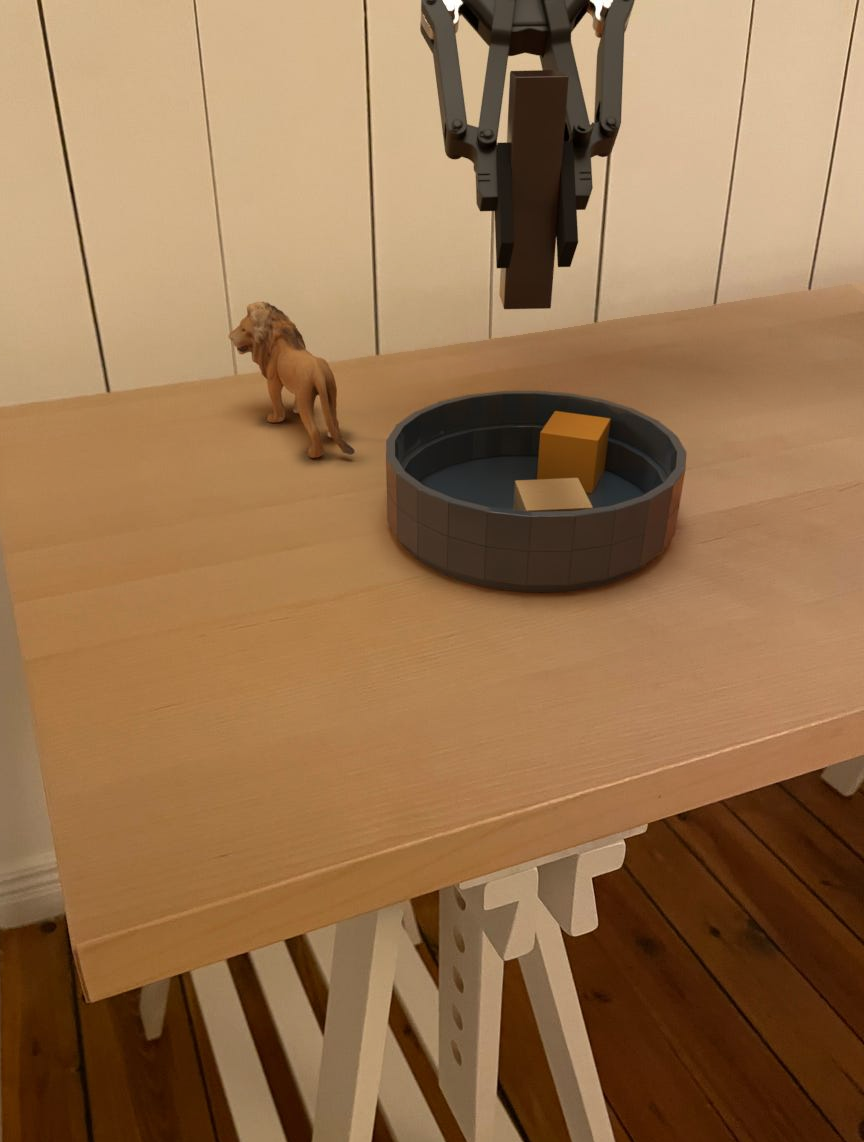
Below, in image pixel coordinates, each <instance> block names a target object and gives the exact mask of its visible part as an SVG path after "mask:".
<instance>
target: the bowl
mask: <svg viewBox="0 0 864 1142" xmlns="http://www.w3.org/2000/svg"><path fill="white" fill-rule="evenodd" d="M555 411H560V412H567V413H574V414H582V415H589V416H597V417H604V418H610V419H611V420H610V429H609V437H608V446H607V454H606V463H605V470H604V472H603V474H602V476H601V478H600V480H599V482H598V484H597V485H596V487H595V489H594V491H593V493H592V494H591V493H586V495H587V497H588V499H589V501H590V503H591V505H592V507H593V509H586V510H579V511H555V512H528V511H518V510H513V506H514V490H515V481H517V480H537V471H538V458H539V444H540V432H541V431H542V429H543V428H544V426H545V425H546V424H547V422H548V421H549V419H550V418H551V416H552V415H553V413H554V412H555ZM686 467H687V450H686V449H685V447H684V445H683V443H682V442H681V440H680V438H679V437H678V434H676V433H674V432H673V431H672V430H671V429H669V427H667V426H666V425H664V423H662V421H659V420H658V419H656V418H654V417H651V416H649V415H648V414H646V413H644V412H641V411H639V410H638V409H636V408H632V407H629V406H626V405H622V404H619V403H616V402H613V401H610V400H608V399H607V400H606V399H604V398H597V397H593V396H587V395H582V394H577V393H570V392H560V391H548V390H537V389H536V390H535V389H534V390H532V389H531V390H530V389H529V390H498V391H489V392H481V393H472V394H465V395H462V396H457V397H454V398H449V399H444V400H441V401H438V402H435V403H432V404H430V405H428V406H425V407H423V408H420V409H418V410H416V411H414V412H412V413H410V414H409V415H408V416H406V417H405V418H404V419H402V420H401V421H400V422H397V424H396V425H395V426H394V428H393V429H392V431H391V432H390V434H389V435H388V436H387V438H386V440H385V474H386V475H385V477H386V478H385V479H386V482H385V483H386V484H385V485H386V521H387V523H388V525H389V526H390V528H391V529H392V531H393V533H394V535H395V537H396V539H397V540H398V541H399V542H400V543H401V544H402V545H403V547H404V549H406V550H407V551H408V552H409V553H410V554H411V556H413V557H414V558H415V559H417V560H418V561H420V562H421V563H423V564H424V565H425V566H428V567H429V568H431V569H432V570H434V571H436V572H438V573H441V574H443V575H446V576H448V577H450V578H454V579H456V580H459V581H461V582H465V583H468V584H472V585H476V586H480V587H485V588H488V589H489V588H490V589H496V590H501V591H508V592H509V591H510V592H521V593H564V592H571V591H572V592H574V591H580V590H587V589H592V588H597V587H602V586H604V585H607V584H608V585H609V584H611V583H615V582H618V581H620V580H622V579H625V578H628V577H630V576H632V575H634V574H635V573H637V572H639V571H640V570H643V569H644V568H645V567H646V566H648V565H649V564H651V562H653V561H654V560H655V558H656V557H658V556H659V555H661V554H663V552H664V551H665V549H666V548H667V546H668V545H669V544H670V542H671V540H672V539H673V537H674V536H675V534H676V527H677V522H678V516H679V510H680V504H681V498H682V492H683V487H684V486H683V485H684V482H685V481H684V480H685V474H686Z"/></svg>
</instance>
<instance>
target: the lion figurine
mask: <svg viewBox="0 0 864 1142" xmlns="http://www.w3.org/2000/svg"><path fill="white" fill-rule="evenodd" d="M239 322H240V324H239V325H238V326H237V327H236V328H234V329H233V330H232V331H230V332H229V334H228V339H229V340H230V341H231V343H232V345H233V346H234V347H235V348H236V350H237V353H238V354H239V355H245V354H247V353H250V354H251V360H252V362H253V363H255V364H257V365H258V367H259V370H260V373H261V376H262V377H264V378H265V379H266V384H267V391H268V396H269V398H270V401H271V404H272V409H273V411H272V412H270V413H268V415H267V420H266V421H267V422H269V423H272V424H273V423H280V422H281V423H282V422H283V421H284V420H285V417H286V409H285V406H284V403H283V398H282V396H283V395H282V391H283V388H285V389H286V390H287V391H288V392H289V393H290V394H293V395H294V402H293V406H292V407H293V408H292V412H293V413H294V414H298V415H299V417H300V419H301V421H302V424H303V425H304V428H305V429H306V431H307V433H308V436H309V438H310V441H311V446H310V447H308V450H307V455H308V457H310V458H319V457H321V456H323V455H324V445H323V442H322V435H321V431H320V429H319V427H318V426H317V424H316V421H315V413H314V411H315V410H314V408H315V403H316V398H317V397H318V396H319V400H320V406H321V411H322V414H323V417H324V421H325V425H326V427H327V433H326V434H327V436H328V437H329V438H331V439H333V441H334V442H335V443H336V445H337V446H338V448H339V449H340V450H341V452H342V453H343V454H347V455H354V454H355V452H356V451H355V449H354V448H353V447H352V446H351V445H350V444H349V443H347V442H346V441H345V440H344V439H342V435H343V434H342V430H341V428H340V425H339V424H340V423H339V420H338V412H337V406H338V404H337V397H338V395H337V394H338V388H337V382H336V379H335V376H334V373H333V371H332V369H331V368H330V365H329V363H328V361H326V359H325V358H323V357H318V356H315V355H313V354H312V353H311V352H309V351H308V350H307V347H306V344H305V340H304V337H303V335H302V334H301V332H300V331H299V329H298V328H297V326H296V324H295V322H293V321H292V320H291V319H290V317H289V316H288V315H287V314H286V313H284V312H283V311H282V310H281V309H278V307H276V306H275V305H273V304H270V303H269V302H265V301H255V302H253V303H249V304H248V305H247V306H246V315H245V317H243V318H242V319H241V320H240V321H239Z"/></svg>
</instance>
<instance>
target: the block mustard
mask: <svg viewBox="0 0 864 1142" xmlns="http://www.w3.org/2000/svg"><path fill="white" fill-rule="evenodd" d="M610 420H611V419H610V418H604V417H597V416H589V415H582V414H574V413H567V412H560V411H555V412H554V413H553V415H552V416H551V418H550V419H549V421H548V422H547V424H546V425H545V426H544V428H543V429H542V431H541V432H540V444H539V458H538V471H537V480H539V479H561V478H578V479H579V481H580V483H581V485H582V487H583V489H584V491H585V493H591V494H592V493H593V491H594V489H595V487H596V485H597V484H598V482H599V480H600V478H601V476H602V474H603V472H604V470H605V463H606V454H607V446H608V437H609V429H610Z"/></svg>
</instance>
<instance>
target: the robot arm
mask: <svg viewBox="0 0 864 1142" xmlns="http://www.w3.org/2000/svg"><path fill="white" fill-rule="evenodd" d="M635 1H636V0H420V22H419V23H420V24H419V26H420V27H419V30H420V33H421V36H422V37H423V39H424V41H425V43H426V44H427V46H428V48H429V50H430V51H431V53H432V57H433V65H434V74H435V80H436V81H435V83H436V89H437V98H438V106H439V114H440V121H441V129H442V138H443V145H444V153H445V155H446V157H447V158H448V159H450V160H454V161H455V160H460V159H461V158H464V159H467V160H469V161H470V162H471V163H472V164H473V171H474V174H475V194H476V196H475V197H476V198H475V199H476V206H477V208H478V210H479V212H494V232H495V237H494V238H495V261H496V269H501V268H509V266H510V261H511V256H512V251H513V247H514V225H513V200H512V174H511V160H510V142H507V141H506V142H498V137H499V136H498V135H499V129H500V123H501V122H500V121H501V115H502V114H501V113H502V106H503V99H504V90H505V83H506V76H507V68H508V61H509V60H508V59H509V57H514V56H519V55H522V54H529V55H534V56H539V60H540V64H541V70H561V71H562V72H564V73H565V74H566V75H567V76H568V77H569V80H568V93H567V106H566V119H565V131H564V144H563V157H562V168H561V181H560V194H559V207H558V220H557V233H556V257H557V258H556V259H557V267H558V268H571V266H572V262H573V260H574V258H575V253H576V250H577V248H578V244H579V230H578V229H579V227H578V211H585V210H586V209H587V207H588V204H589V201H590V197H591V195H592V191H593V173H592V172H593V171H592V158H594V157H596V156H597V157H600V158H606V157H609V156H610V155H611V154H612V153H613V149H614V147H615V144H616V140H617V137H618V135H619V132H620V128H621V124H622V107H623V106H622V105H623V84H624V83H623V81H624V57H625V56H624V55H625V33H626V30H627V28H628V25H629V21H630V18H631V16H632V15H631V14H632V11H633V8H634V4H635ZM586 14H589V15H590V16H591V18H592V29H593V30H594V35H595V37H596V38H598V39H599V43H598V47H597V51H596V52H597V53H596V65H595V66H596V67H595V68H596V69H595V88H594V89H595V90H594V91H595V92H594V116H593V122H591V123H590V119H589V114H588V111H587V106H586V101H585V96H584V92H583V89H582V82H581V79H580V74H579V70H578V66H577V61H576V57H575V52H574V47H573V44H572V33H573V31H574V30H575V29H576V27H577V26H578V25H579V23H580V22H581V21H582V20H583V19H584V17H585V16H586ZM460 17H463V19H464V20H465V21H466V22H467V23H468V24H469V26H470V27H471V28H472V29H473V30H474V31H475V32H476V34H477V35H478V36H479V37H480V38H481V39H482V41H484V43H485V44H486V45H487V46H488V53H487V54H488V55H487V62H486V67H485V76H484V82H483V83H484V84H483V91H482V97H481V105H480V113H479V121H478V126H475V125H472V124H469V123H468V120H467V118H468V117H467V112H466V105H465V104H466V103H465V96H464V88H463V81H462V73H461V65H460V59H459V58H460V57H459V51H458V42H457V35H456V34H457V33H458V31H459V22H460Z"/></svg>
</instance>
